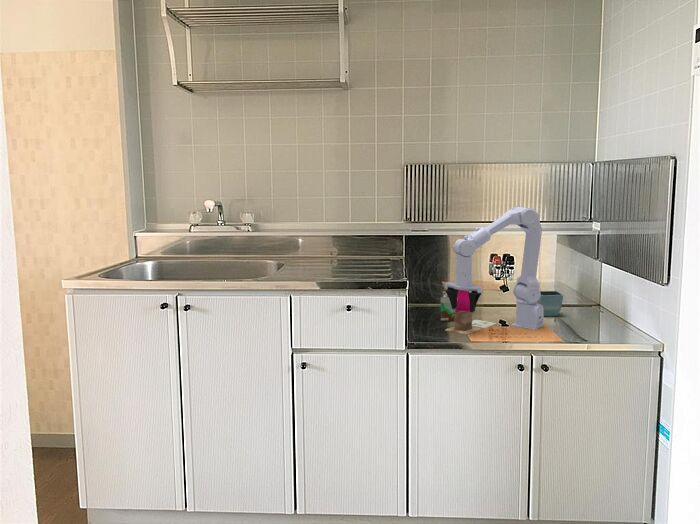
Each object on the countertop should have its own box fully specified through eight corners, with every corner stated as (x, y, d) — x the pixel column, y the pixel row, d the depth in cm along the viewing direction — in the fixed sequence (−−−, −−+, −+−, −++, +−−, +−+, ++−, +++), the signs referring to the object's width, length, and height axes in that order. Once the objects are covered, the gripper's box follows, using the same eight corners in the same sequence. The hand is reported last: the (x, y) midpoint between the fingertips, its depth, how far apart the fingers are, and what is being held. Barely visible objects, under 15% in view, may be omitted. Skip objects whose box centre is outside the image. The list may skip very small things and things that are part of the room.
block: (471, 328, 230) (472, 312, 229) (464, 331, 227) (465, 314, 226) (461, 326, 233) (461, 310, 232) (454, 329, 230) (454, 312, 229)
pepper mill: (451, 311, 260) (452, 263, 257) (468, 310, 262) (469, 262, 259) (457, 315, 253) (458, 265, 250) (475, 314, 255) (475, 265, 252)
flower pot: (534, 312, 256) (535, 290, 255) (556, 312, 256) (557, 290, 255) (540, 317, 248) (540, 295, 246) (562, 317, 247) (563, 295, 246)
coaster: (480, 330, 230) (480, 328, 230) (466, 335, 224) (466, 333, 224) (458, 326, 236) (458, 324, 236) (445, 331, 230) (445, 329, 230)
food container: (456, 323, 240) (457, 297, 239) (440, 323, 241) (440, 297, 240) (458, 316, 252) (458, 291, 250) (442, 315, 253) (442, 291, 252)
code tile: (496, 323, 239) (496, 323, 239) (484, 328, 232) (484, 327, 232) (476, 320, 245) (476, 319, 245) (463, 324, 238) (463, 324, 238)
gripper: (440, 272, 229) (440, 309, 231) (475, 276, 219) (474, 315, 221) (451, 269, 234) (450, 305, 236) (485, 273, 224) (485, 311, 226)
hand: (463, 310), depth 229 cm, fingers open, 7 cm apart
